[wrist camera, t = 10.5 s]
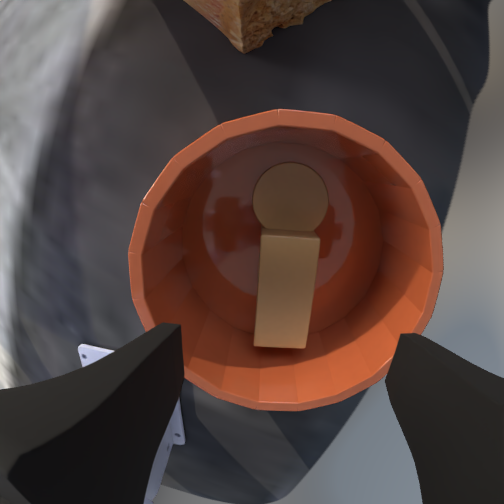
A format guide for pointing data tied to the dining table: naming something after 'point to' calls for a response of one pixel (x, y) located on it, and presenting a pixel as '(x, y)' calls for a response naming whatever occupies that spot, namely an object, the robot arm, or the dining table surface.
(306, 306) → the disc-topped wooden post
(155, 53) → the dining table surface
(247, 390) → the crock
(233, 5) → the stone fragment
